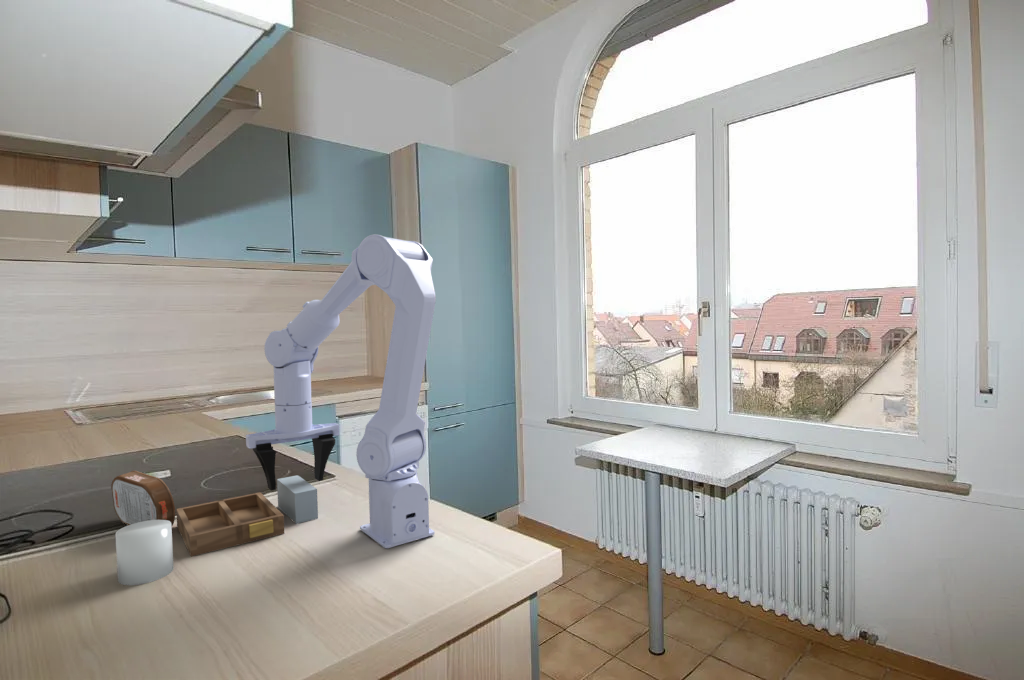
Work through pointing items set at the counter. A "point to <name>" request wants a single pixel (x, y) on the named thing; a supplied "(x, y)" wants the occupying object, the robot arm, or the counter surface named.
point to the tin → (142, 498)
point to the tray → (228, 523)
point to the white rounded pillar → (144, 552)
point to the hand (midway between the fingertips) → (296, 483)
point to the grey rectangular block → (297, 499)
